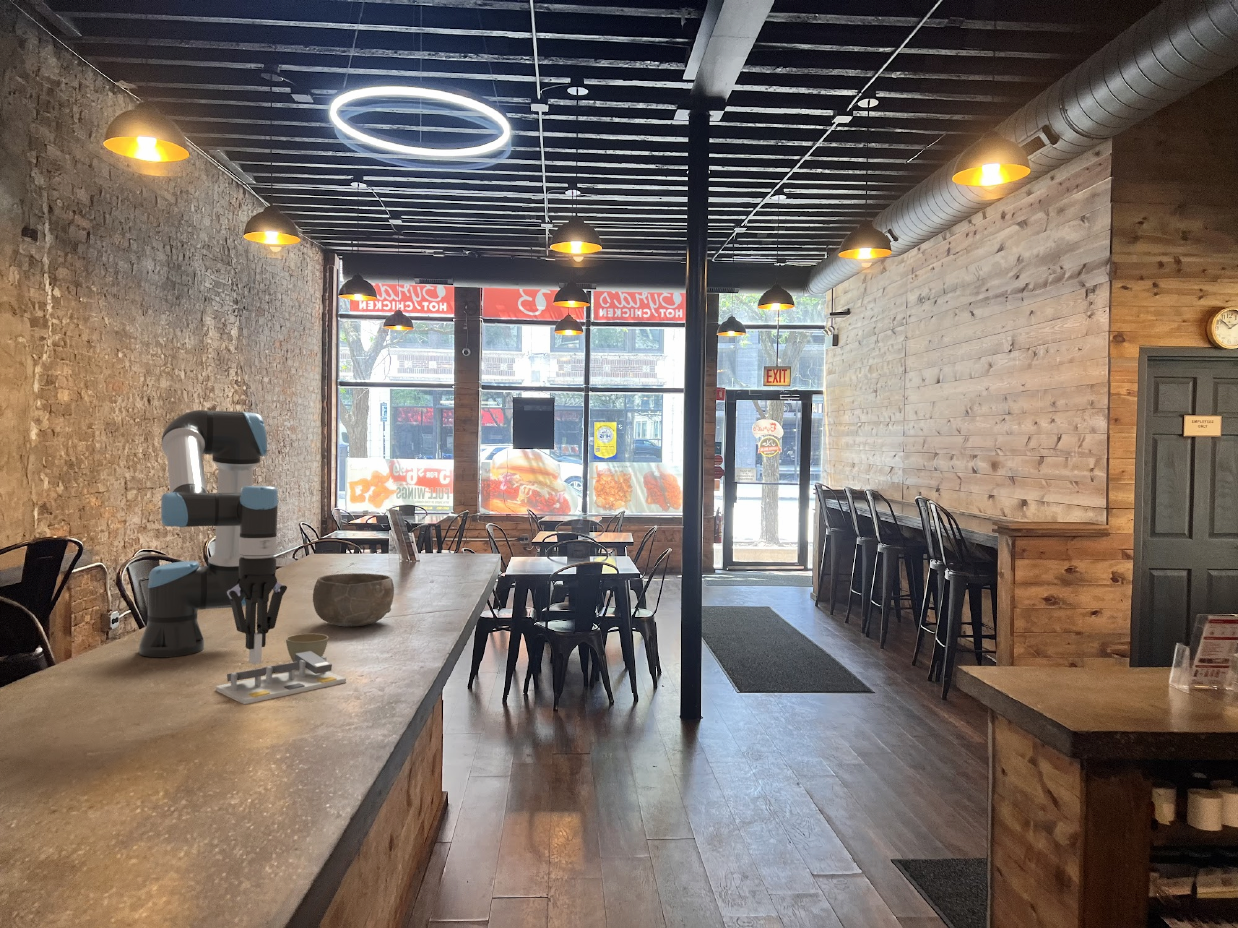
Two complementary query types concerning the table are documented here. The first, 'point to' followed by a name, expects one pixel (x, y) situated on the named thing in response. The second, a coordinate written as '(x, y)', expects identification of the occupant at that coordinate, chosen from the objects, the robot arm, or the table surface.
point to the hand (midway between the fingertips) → (255, 662)
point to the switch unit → (278, 684)
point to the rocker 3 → (313, 662)
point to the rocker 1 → (248, 674)
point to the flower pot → (306, 644)
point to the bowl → (353, 598)
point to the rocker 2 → (284, 667)
